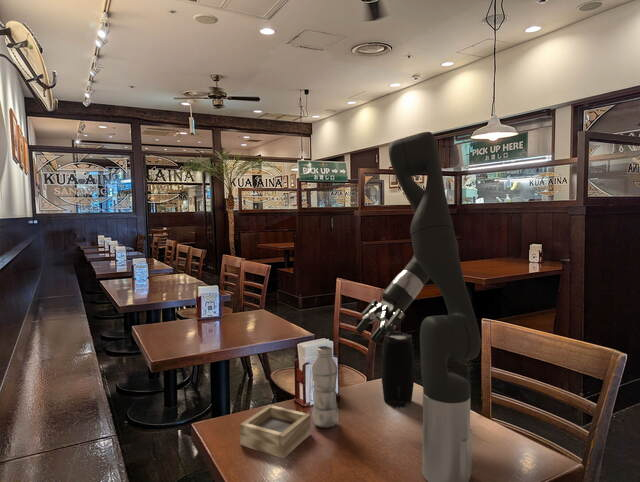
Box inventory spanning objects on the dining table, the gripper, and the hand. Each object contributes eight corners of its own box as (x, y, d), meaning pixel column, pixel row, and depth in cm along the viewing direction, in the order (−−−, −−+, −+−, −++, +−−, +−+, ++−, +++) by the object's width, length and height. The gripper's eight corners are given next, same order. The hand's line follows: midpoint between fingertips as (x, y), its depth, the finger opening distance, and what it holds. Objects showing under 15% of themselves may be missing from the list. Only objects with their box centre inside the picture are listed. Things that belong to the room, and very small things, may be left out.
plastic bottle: (336, 432, 107) (336, 352, 106) (309, 429, 109) (309, 351, 108) (340, 420, 114) (340, 345, 112) (315, 418, 115) (314, 343, 114)
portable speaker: (386, 393, 131) (387, 329, 130) (417, 399, 126) (418, 333, 125) (377, 404, 123) (377, 336, 122) (409, 411, 119) (410, 340, 118)
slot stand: (310, 434, 106) (310, 414, 106) (283, 458, 96) (283, 436, 95) (269, 423, 112) (269, 404, 112) (240, 445, 101) (240, 424, 101)
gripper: (381, 277, 123) (344, 321, 120) (409, 285, 110) (369, 335, 106) (396, 294, 125) (361, 338, 122) (426, 304, 112) (387, 353, 109)
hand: (365, 336), depth 114 cm, fingers open, 8 cm apart
